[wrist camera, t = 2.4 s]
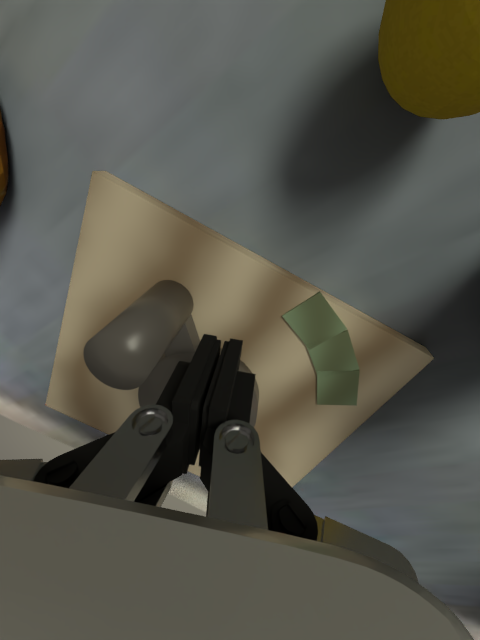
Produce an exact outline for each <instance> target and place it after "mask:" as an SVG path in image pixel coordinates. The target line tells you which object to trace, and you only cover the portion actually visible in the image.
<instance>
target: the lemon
mask: <svg viewBox="0 0 480 640" xmlns="http://www.w3.org/2000/svg"><path fill="white" fill-rule="evenodd" d="M378 61H379V66H380V71H381V76H382V80H383V82H384V84H385V86H386V88H387V90H388V92H389V94H390V96H391V97H392V98H393V99H394V100H395V101H396V102H397V103H398V104H399V105H400V106H401V107H402V108H403V109H405V110H407V111H409V112H411V113H413V114H415V115H417V116H419V117H427V118H435V119H449V118H456V117H463V116H469V115H473V114H476V113H478V112H480V0H386V2H385V7H384V12H383V16H382V21H381V25H380V30H379V44H378Z"/></svg>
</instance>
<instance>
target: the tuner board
mask: <svg viewBox="0 0 480 640" xmlns="http://www.w3.org/2000/svg"><path fill="white" fill-rule="evenodd" d="M163 280H173V281H176V282H178V283H180V284H182V285H183V286H184V287H186V288H187V290H188V291H189V292H190V294H191V296H192V298H193V304H194V305H193V311H192V313H191V315H192V318H193V321H194V324H195V327H196V330H197V333H198V336H199V339H200V341H201V339H202V337H203V335H204V334H208V335H214V336H217V340H221V348H223V345H224V342H225V341H230V338H231V339H237V340H243V345H242V352H241V358H240V360H241V361H242V362H244V363H245V365H246V366H247V367H248V368H249V369H250V371H251V372H252V373H253V374H256V375H255V379H256V381H257V384H258V388H259V403H258V411H257V418H256V424H255V426H254V428H255V430H256V431H257V433H258V435H259V439H260V449H261V453H262V454H263V455H264V456H265V457H266V458H267V459H268V461H269V462H270V463H271V464H272V465H273V466H274V467H275V469H276V470H277V471H278V472H279V473H280V474H281V475H282V477H283V478H284V479H285V480H286V481H287V482H288V484H289V485H290V486H291V487H293V486H294V485H295V484H296V483H298V482H299V481H300V480H301V479H302V478H303V477H304V476H305V475H306V474H307V473H309V472H310V471H311V470H312V469H313V468H314V467H315V466H316V465H317V464H318V463H320V462H321V461H322V460H323V459H324V458H325V457H326V456H327V455H328V454H329V453H331V452H332V451H333V450H334V449H335V448H336V447H337V446H338V445H339V444H340V443H342V442H343V441H344V440H345V439H346V438H347V437H348V436H349V435H350V434H351V433H353V432H354V431H355V430H356V429H357V428H358V427H359V426H360V425H361V424H362V423H364V422H365V421H366V420H367V419H368V418H369V417H370V416H371V415H372V414H373V413H375V412H376V411H377V410H378V409H379V408H380V407H381V406H382V405H383V404H384V403H386V402H387V401H388V400H389V399H390V398H391V397H392V396H393V395H394V394H395V393H397V392H398V391H399V390H400V389H401V388H402V387H403V386H404V385H405V384H406V383H408V382H409V381H410V380H411V379H412V378H413V377H414V376H415V375H416V374H417V373H419V372H420V371H421V370H422V369H423V368H424V367H425V366H426V365H427V364H429V363H430V362H431V361H432V360H433V359H434V357H433V356H432V355H431V353H430V352H429V351H428V350H427V348H426V347H424V346H422V345H421V344H419V343H417V342H415V341H413V340H411V339H410V338H408V337H406V336H404V335H402V334H401V333H399V332H397V331H395V330H393V329H391V328H390V327H388V326H386V325H384V324H382V323H381V322H379V321H377V320H375V319H373V318H372V317H370V316H368V315H366V314H364V313H362V312H361V311H359V310H357V309H355V308H353V307H352V306H350V305H348V304H346V303H344V302H342V301H341V300H339V299H337V298H335V297H333V296H332V295H330V294H328V293H326V292H324V291H322V290H321V289H319V288H317V287H315V286H313V285H312V284H310V283H308V282H306V281H304V280H302V279H301V278H299V277H297V276H295V275H293V274H292V273H290V272H288V271H286V270H284V269H282V268H281V267H279V266H277V265H275V264H273V263H272V262H270V261H268V260H266V259H264V258H262V257H261V256H259V255H257V254H255V253H253V252H252V251H250V250H248V249H246V248H244V247H242V246H241V245H239V244H237V243H235V242H233V241H232V240H230V239H228V238H226V237H224V236H223V235H221V234H219V233H217V232H215V231H213V230H212V229H210V228H208V227H206V226H204V225H203V224H201V223H199V222H197V221H195V220H193V219H192V218H190V217H188V216H186V215H184V214H183V213H181V212H179V211H177V210H175V209H173V208H172V207H170V206H168V205H166V204H164V203H163V202H161V201H159V200H157V199H155V198H153V197H152V196H150V195H148V194H146V193H144V192H143V191H141V190H139V189H137V188H135V187H133V186H132V185H130V184H128V183H126V182H124V181H123V180H121V179H119V178H117V177H115V176H113V175H112V174H110V173H108V172H106V171H93V172H92V177H91V182H90V187H89V192H88V197H87V202H86V207H85V212H84V217H83V222H82V227H81V232H80V237H79V242H78V246H77V251H76V256H75V261H74V266H73V271H72V276H71V281H70V286H69V291H68V296H67V301H66V306H65V311H64V316H63V321H62V326H61V331H60V336H59V341H58V346H57V351H56V356H55V361H54V366H53V370H52V375H51V380H50V385H49V390H48V395H47V400H46V406H48V407H50V408H52V409H54V410H56V411H59V412H61V413H63V414H65V415H67V416H69V417H72V418H74V419H76V420H78V421H80V422H82V423H85V424H87V425H89V426H91V427H93V428H95V429H98V430H100V431H102V432H104V433H106V434H112V433H114V432H116V431H117V430H118V429H119V428H120V426H121V425H122V424H123V423H124V422H125V420H126V419H127V418H128V417H129V416H130V414H132V413H133V412H134V411H135V410H136V409H138V408H140V405H139V400H138V389H139V387H138V388H135V389H132V390H120V389H115V388H112V387H110V386H107V385H105V384H104V383H102V382H101V381H99V380H98V379H97V378H96V377H95V376H94V375H93V374H92V373H91V372H90V371H89V369H88V367H87V366H86V363H85V361H84V356H83V351H84V347H85V345H86V343H87V342H88V340H90V339H91V338H92V337H93V336H94V335H96V334H97V333H98V332H99V331H100V330H101V329H103V328H104V327H105V326H106V325H107V324H109V323H110V322H111V321H112V320H113V319H114V318H116V317H117V316H118V315H119V314H120V313H122V312H123V311H124V310H125V309H126V308H128V307H129V306H130V305H131V304H132V303H133V302H135V301H136V300H137V299H138V298H139V297H141V296H142V295H143V294H144V293H145V292H146V291H148V290H149V289H150V288H151V287H152V286H154V285H155V284H156V283H158V282H160V281H163ZM199 454H200V450H199V452H198V456H197V459H196V462H195V465H189V467H188V471H189V472H191V473H193V474H195V475H198V476H200V473H201V467H199Z"/></svg>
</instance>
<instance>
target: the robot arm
mask: <svg viewBox="0 0 480 640" xmlns="http://www.w3.org/2000/svg"><path fill="white" fill-rule="evenodd" d="M242 345H243V340H237V339H231V338H230V341H225V342H224V345H223V348H222V351H221V354H220V349H221V340H217V336H214V335H208V334H204V335H203V337H202V339H201V341H200V343H199V345H198V347H197V349H196V352H195V354H194V356H193V358H192V360H191V362H185V361H179V362H178V364H177V365H176V367H175V369H174V371H173V373H172V375H171V377H170V378H169V380H168V382H167V384H166V386H165V388H164V390H163V392H162V393H161V395H160V397H159V399H158V401H157V403H156V405H146V406H142V407H140V408H138V409H136V410H135V411H134V412H133V413H132V414H130V416H129V417H128V418H127V419H126V420H125V422H124V423H123V424H122V425H121V426H120V428H119V429H118V430H117V431H116V432H114V433H112V434H109V435H107V436H105V437H102V438H100V439H97V440H95V441H93V442H90V443H88V444H86V445H83V446H81V447H79V448H76V449H74V450H72V451H69V452H67V453H64V454H62V455H60V456H58V457H56V458H54V459H52V460H50V461H49V462H43V460H42V459H23V460H22V459H20V460H0V640H474V639H473V638H472V636H471V635H470V633H469V632H468V631H467V629H466V628H465V626H464V625H463V624H462V622H461V621H460V620H459V619H458V618H457V616H456V615H455V614H454V613H453V612H452V611H451V610H450V609H449V608H448V607H447V606H446V605H445V604H444V603H443V602H441V601H440V600H439V599H438V598H437V597H435V596H434V595H433V594H432V593H431V592H429V591H428V590H427V589H426V588H424V587H423V586H421V585H420V584H419V583H418V579H417V576H416V573H415V571H414V569H413V567H412V566H411V564H410V562H409V561H408V560H407V559H406V558H405V556H404V555H403V554H402V553H401V552H400V551H398V550H396V549H395V548H393V547H392V546H390V545H388V544H386V543H383V542H381V541H379V540H377V539H375V538H372V537H370V536H368V535H366V534H364V533H361V532H359V531H357V530H355V529H352V528H350V527H348V526H346V525H344V524H341V523H339V522H337V521H335V520H333V519H330V518H328V517H326V516H325V518H324V519H322V518H320V517H318V516H315V515H314V514H313V512H312V511H311V509H310V508H309V506H308V505H307V504H306V503H305V502H304V501H303V500H302V498H301V497H300V496H299V495H298V494H297V493H296V492H295V490H294V489H293V488H292V487H291V486H290V485H289V484H288V482H287V481H286V480H285V479H284V478H283V477H282V475H281V474H280V473H279V472H278V471H277V470H276V469H275V467H274V466H273V465H272V464H271V463H270V462H269V461H268V459H267V458H266V457H265V456H264V455H263V454H262V453H261V449H260V439H259V435H258V433H257V431H256V430H255V428H254V427H253V426H251V425H250V424H249V423H250V415H251V407H252V399H253V391H254V383H255V375H256V374H253V373H247V372H241V371H239V365H240V358H241V352H242ZM199 449H200V454H199V467H201V473H200V479H201V481H202V482H203V484H204V485H205V487H206V489H207V490H208V499H207V512H206V517H204V516H200V515H194V514H190V513H185V512H180V511H175V510H171V509H166V508H161V505H162V503H163V502H164V500H165V498H166V496H167V494H168V492H169V490H170V488H171V485H172V482H173V480H174V479H176V478H177V477H179V476H181V475H182V473H184V474H187V471H188V467H189V465H195V462H196V459H197V456H198V452H199Z"/></svg>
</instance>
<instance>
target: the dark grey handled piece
mask: <svg viewBox="0 0 480 640" xmlns="http://www.w3.org/2000/svg"><path fill="white" fill-rule="evenodd" d="M193 305H194V304H193V298H192V296H191V294H190V292H189V291H188V290H187V288H186V287H184V286H183V285H182V284H180V283H178V282H176V281H173V280H163V281H160V282H158V283H156V284H155V285H154V286H152V287H151V288H150V289H149V290H148V291H146V292H145V293H144V294H143V295H142V296H141V297H139V298H138V299H137V300H136V301H135V302H133V303H132V304H131V305H130V306H129V307H128V308H126V309H125V310H124V311H123V312H122V313H120V314H119V315H118V316H117V317H116V318H114V319H113V320H112V321H111V322H110V323H109V324H107V325H106V326H105V327H104V328H103V329H101V330H100V331H99V332H98V333H97V334H96V335H94V336H93V337H92V338H91V339H90V340H88V342H87V343H86V345H85V347H84V351H83V356H84V361H85V363H86V366H87V367H88V369H89V371H90V372H91V373H92V374H93V375H94V376H95V377H96V378H97V379H98V380H99V381H101V382H102V383H104V384H105V385H107V386H110V387H112V388H115V389H120V390H132V389H135V388H138V387H139V389H138V400H139V405H140V407H142V406H146V405H156V403H157V401H158V399H159V397H160V395H161V393H162V392H163V390H164V388H165V386H166V384H167V382H168V380H169V378H170V377H171V375H172V373H173V371H174V369H175V367H176V365H177V364H178V362H179V361H185V362H191V360H192V358H193V356H194V354H195V352H196V349H197V347H198V345H199V343H200V339H199V336H198V333H197V330H196V327H195V324H194V321H193V318H192V315H191V313H192V311H193ZM221 351H222V348H221V349H220V354H221ZM239 371H241V372H247V373H252V372H251V371H250V369H249V368H248V367H247V366H246V365H245V363H244V362H242V361H241V360H240V365H239ZM258 403H259V388H258V384H257V381H256V379H255V383H254V391H253V399H252V407H251V415H250V423H249V424H250V425H251V426H253V427H254V426H255V424H256V418H257V411H258ZM199 450H200V449H199Z"/></svg>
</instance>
